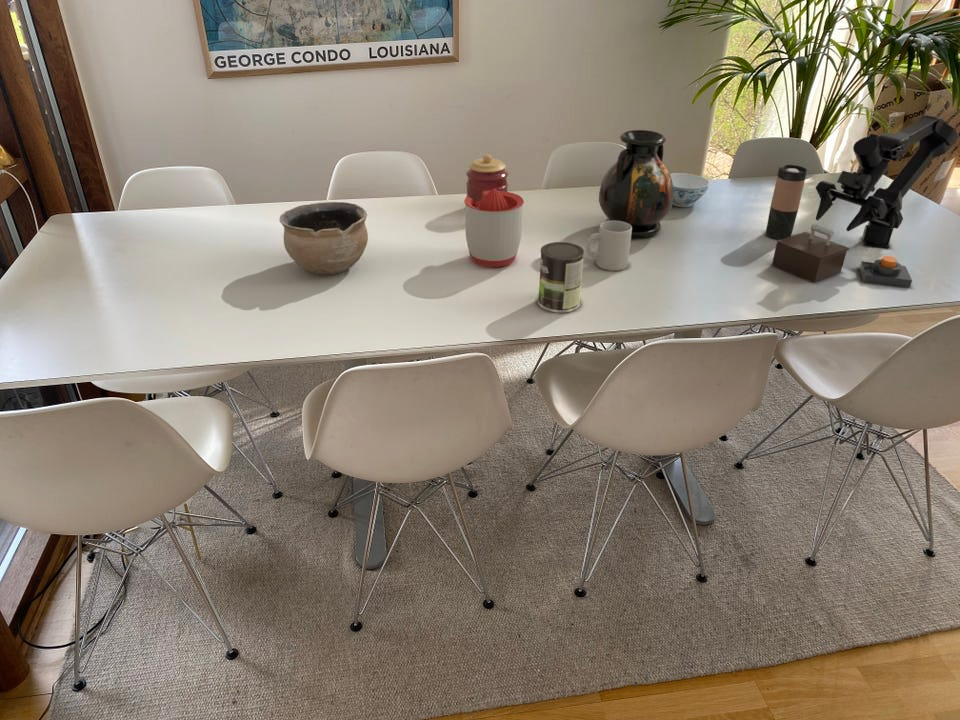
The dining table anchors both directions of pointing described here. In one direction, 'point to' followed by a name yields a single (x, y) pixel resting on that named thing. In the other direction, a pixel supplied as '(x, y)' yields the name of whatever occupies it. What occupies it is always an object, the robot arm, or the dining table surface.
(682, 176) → the chinaware
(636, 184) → the amphora vase
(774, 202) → the travel mug
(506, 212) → the citrus juicer
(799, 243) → the lid
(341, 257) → the ceramic bowl
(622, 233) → the mug
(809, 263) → the brown lidded box
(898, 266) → the control block
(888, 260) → the release button
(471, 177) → the kitchen canister
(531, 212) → the dining table surface
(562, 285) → the coffee can
